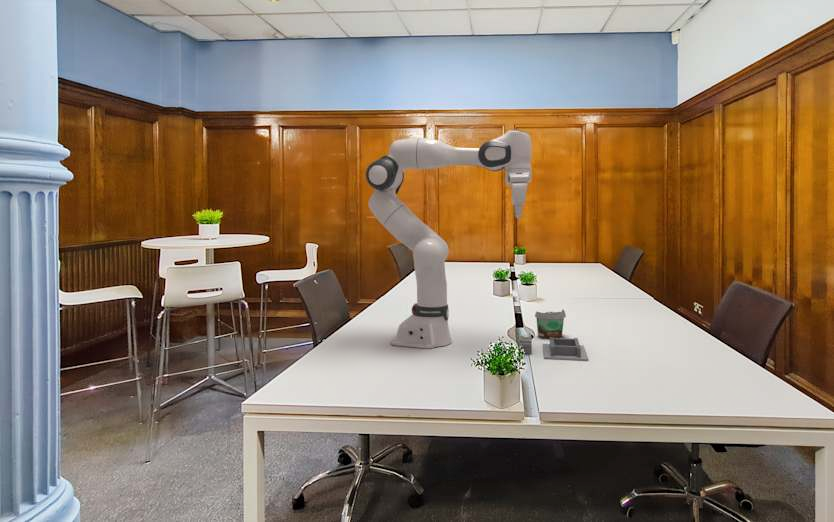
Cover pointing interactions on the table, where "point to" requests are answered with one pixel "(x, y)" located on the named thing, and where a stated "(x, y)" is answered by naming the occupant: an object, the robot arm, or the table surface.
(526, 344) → the servo
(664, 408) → the table surface
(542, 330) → the food container
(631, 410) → the table surface
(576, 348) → the pocket
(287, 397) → the table surface
